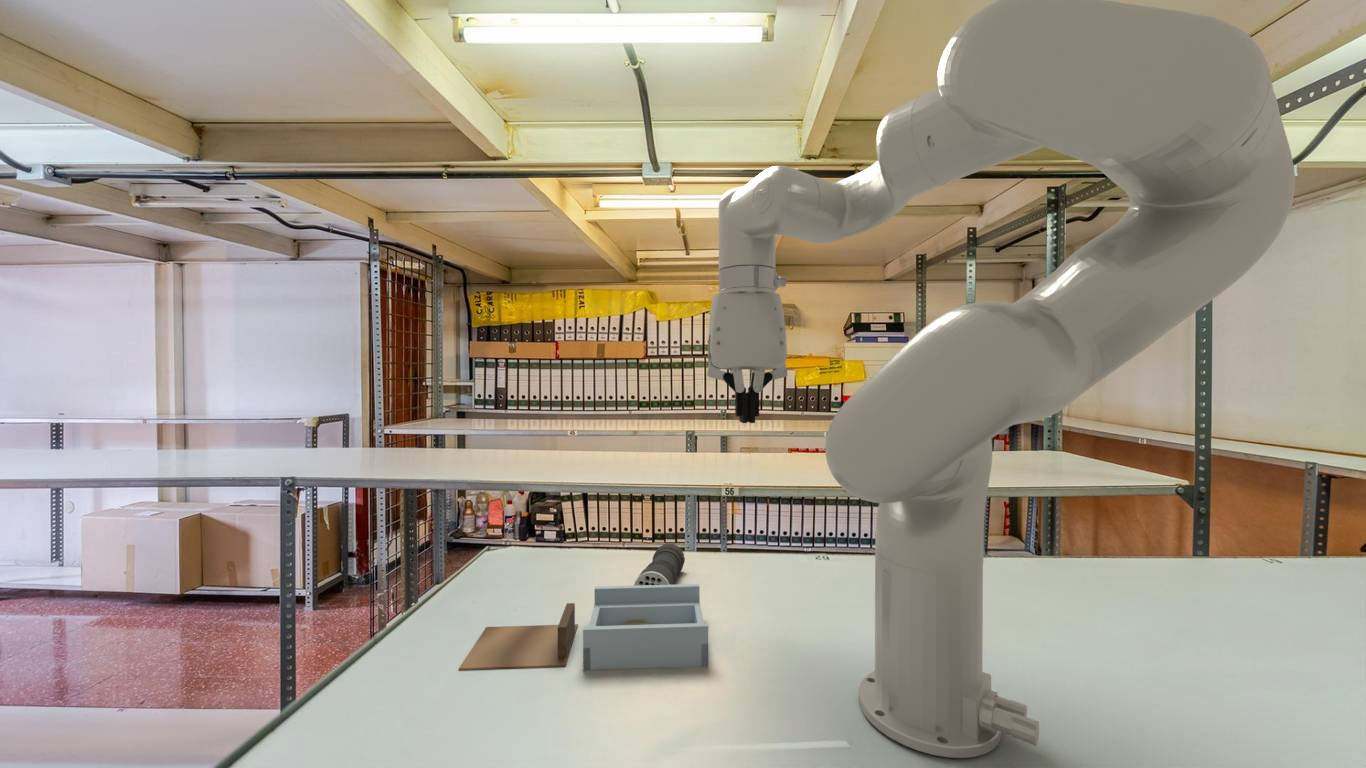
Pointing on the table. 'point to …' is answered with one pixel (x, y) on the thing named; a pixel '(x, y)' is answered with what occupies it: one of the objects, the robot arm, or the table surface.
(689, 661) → the light grey open box
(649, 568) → the flashlight
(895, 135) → the robot arm
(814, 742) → the table surface
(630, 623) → the brass disc
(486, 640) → the cover plate
